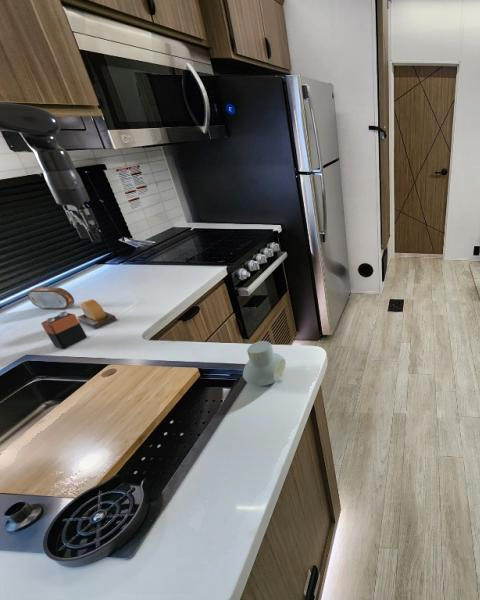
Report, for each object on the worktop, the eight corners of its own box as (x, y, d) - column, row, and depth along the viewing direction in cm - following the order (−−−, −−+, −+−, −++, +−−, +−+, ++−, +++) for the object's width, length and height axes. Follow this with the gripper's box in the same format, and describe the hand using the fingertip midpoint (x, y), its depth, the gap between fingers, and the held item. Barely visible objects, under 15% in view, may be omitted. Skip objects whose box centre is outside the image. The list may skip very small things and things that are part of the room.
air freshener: (262, 363, 94) (254, 334, 89) (289, 365, 93) (283, 335, 89) (242, 390, 84) (232, 359, 80) (273, 392, 84) (264, 361, 79)
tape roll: (99, 326, 114) (89, 305, 111) (87, 320, 118) (77, 300, 114) (109, 321, 117) (99, 302, 113) (97, 316, 120) (87, 297, 116)
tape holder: (96, 329, 112) (93, 324, 111) (79, 321, 117) (76, 316, 116) (117, 320, 117) (115, 315, 116) (100, 313, 122) (98, 308, 121)
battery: (88, 337, 108) (73, 311, 103) (64, 349, 102) (47, 322, 97) (79, 335, 109) (64, 309, 104) (54, 347, 103) (38, 320, 98)
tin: (78, 306, 128) (68, 286, 124) (71, 309, 125) (60, 290, 121) (41, 306, 128) (29, 286, 124) (33, 310, 126) (21, 290, 122)
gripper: (41, 186, 97) (67, 240, 104) (59, 189, 90) (86, 246, 98) (73, 183, 103) (96, 234, 110) (92, 186, 96) (115, 240, 103)
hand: (91, 240), depth 104 cm, fingers open, 8 cm apart
